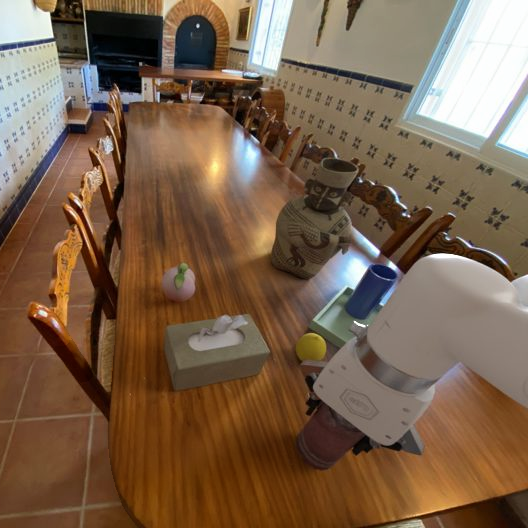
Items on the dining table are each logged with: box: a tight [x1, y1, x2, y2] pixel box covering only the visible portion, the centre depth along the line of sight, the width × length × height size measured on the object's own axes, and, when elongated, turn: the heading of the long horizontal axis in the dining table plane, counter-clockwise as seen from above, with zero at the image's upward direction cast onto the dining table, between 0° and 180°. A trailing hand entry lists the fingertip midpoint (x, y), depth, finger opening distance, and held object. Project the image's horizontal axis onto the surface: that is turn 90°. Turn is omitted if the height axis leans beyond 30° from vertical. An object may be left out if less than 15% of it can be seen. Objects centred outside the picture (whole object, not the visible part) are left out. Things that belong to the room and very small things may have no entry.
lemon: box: [295, 332, 327, 362], centre depth 62 cm, size 6×6×8 cm
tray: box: [308, 283, 385, 349], centre depth 70 cm, size 22×20×3 cm
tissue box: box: [163, 313, 271, 392], centre depth 57 cm, size 19×10×16 cm, turn 104°
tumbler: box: [344, 262, 399, 320], centre depth 72 cm, size 6×6×14 cm
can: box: [295, 400, 366, 471], centre depth 45 cm, size 6×6×14 cm
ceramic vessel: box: [270, 157, 360, 280], centre depth 81 cm, size 19×21×30 cm
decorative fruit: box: [161, 262, 196, 303], centre depth 73 cm, size 9×8×10 cm
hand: (333, 426), depth 44 cm, fingers closed on can, 6 cm apart
